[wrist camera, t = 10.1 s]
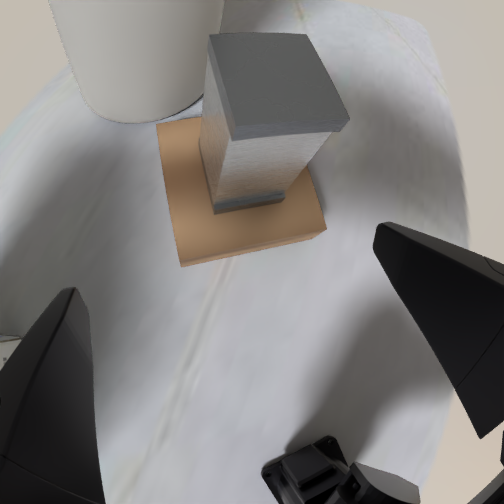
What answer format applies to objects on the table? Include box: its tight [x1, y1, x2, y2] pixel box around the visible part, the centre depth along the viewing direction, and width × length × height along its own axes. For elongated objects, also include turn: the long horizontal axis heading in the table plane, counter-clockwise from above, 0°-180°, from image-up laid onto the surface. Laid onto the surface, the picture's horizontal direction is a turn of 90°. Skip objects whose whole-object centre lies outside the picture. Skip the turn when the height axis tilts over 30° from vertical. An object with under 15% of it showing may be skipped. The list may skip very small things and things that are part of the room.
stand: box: [156, 117, 327, 267], centre depth 22 cm, size 10×10×3 cm
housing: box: [198, 33, 350, 215], centre depth 16 cm, size 5×5×10 cm
